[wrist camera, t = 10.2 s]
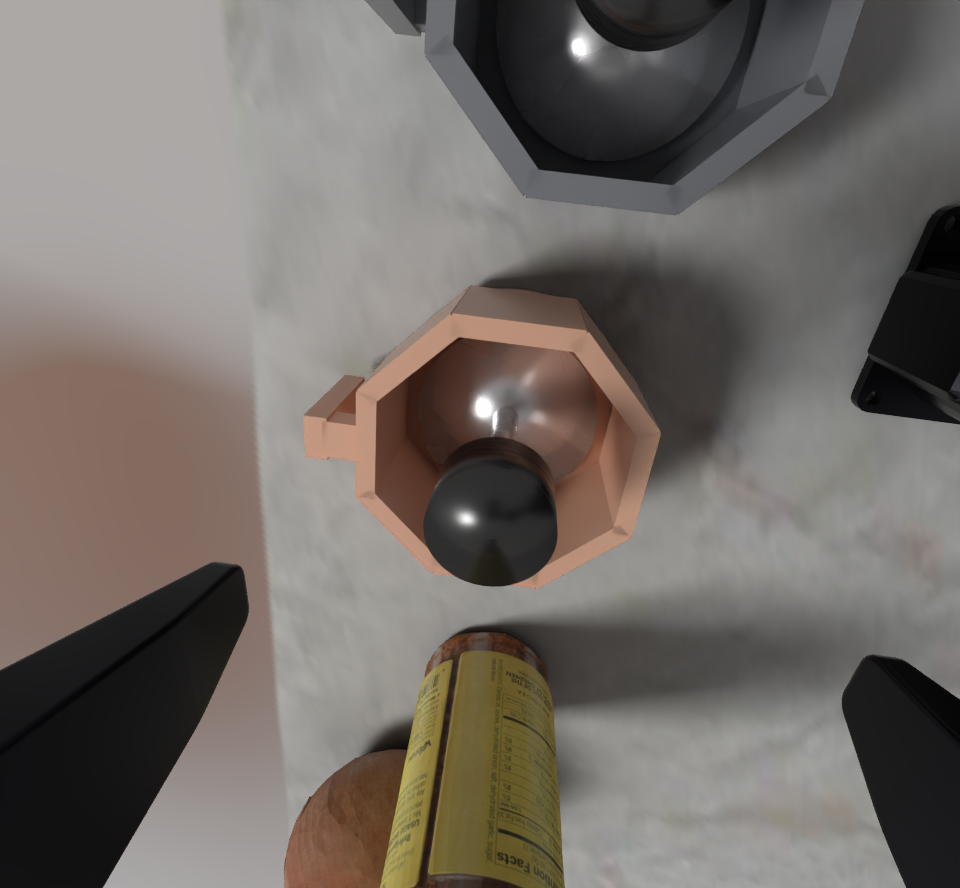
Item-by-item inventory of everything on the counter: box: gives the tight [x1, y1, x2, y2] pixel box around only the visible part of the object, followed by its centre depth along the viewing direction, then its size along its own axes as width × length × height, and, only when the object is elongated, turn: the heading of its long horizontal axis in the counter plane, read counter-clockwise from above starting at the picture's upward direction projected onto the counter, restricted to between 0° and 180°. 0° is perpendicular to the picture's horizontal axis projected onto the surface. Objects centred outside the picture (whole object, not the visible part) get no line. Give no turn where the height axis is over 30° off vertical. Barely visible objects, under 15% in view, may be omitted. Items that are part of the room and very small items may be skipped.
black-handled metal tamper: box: [417, 337, 597, 586], centre depth 16 cm, size 6×6×8 cm
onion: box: [284, 749, 407, 888], centre depth 26 cm, size 10×9×10 cm
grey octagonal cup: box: [365, 0, 865, 215], centre depth 13 cm, size 10×9×5 cm
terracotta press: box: [303, 285, 661, 589], centre depth 18 cm, size 10×9×5 cm
